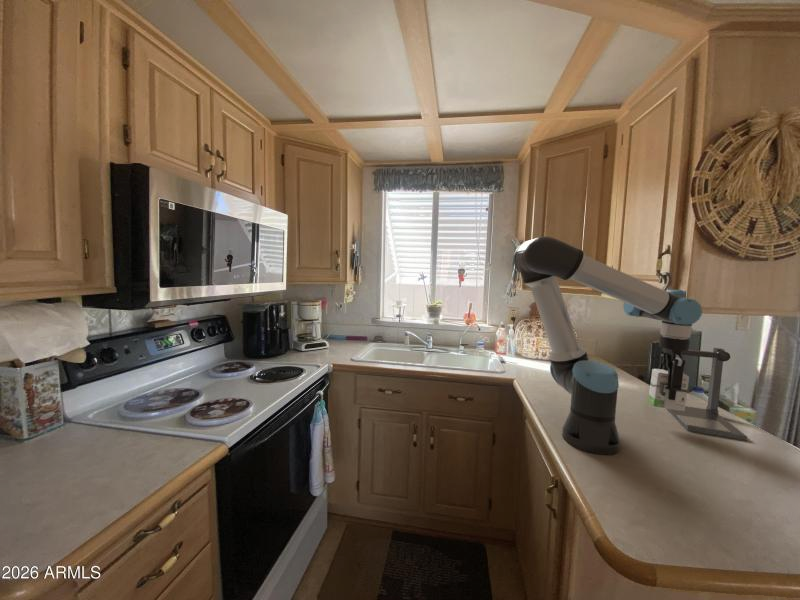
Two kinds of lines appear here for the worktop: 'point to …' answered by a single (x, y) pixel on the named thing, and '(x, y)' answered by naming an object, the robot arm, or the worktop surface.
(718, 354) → the lever
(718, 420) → the press
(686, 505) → the worktop surface
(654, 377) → the ink box
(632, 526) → the worktop surface
